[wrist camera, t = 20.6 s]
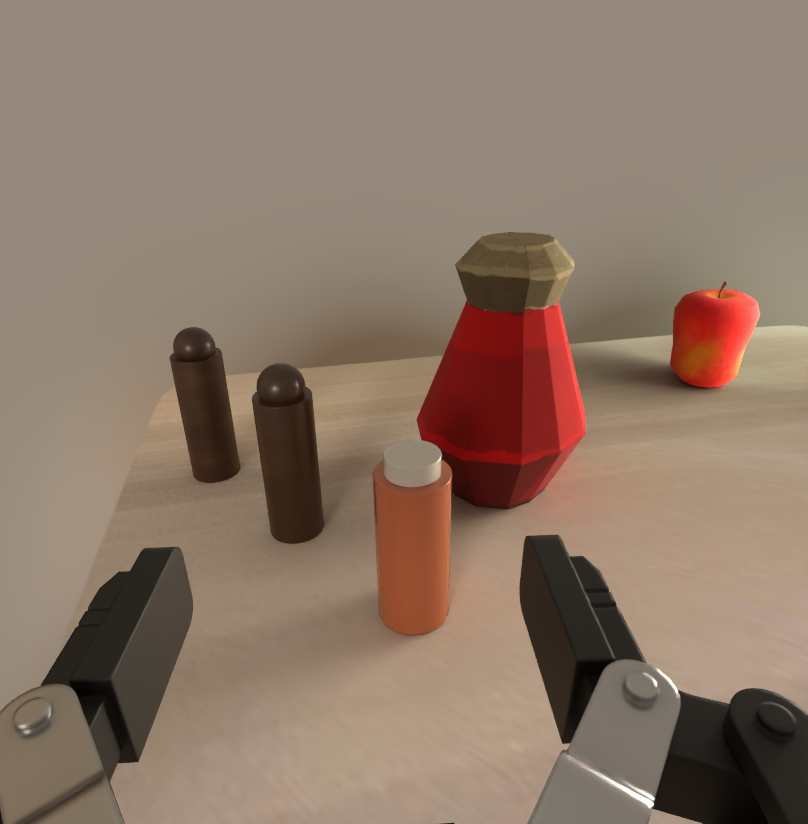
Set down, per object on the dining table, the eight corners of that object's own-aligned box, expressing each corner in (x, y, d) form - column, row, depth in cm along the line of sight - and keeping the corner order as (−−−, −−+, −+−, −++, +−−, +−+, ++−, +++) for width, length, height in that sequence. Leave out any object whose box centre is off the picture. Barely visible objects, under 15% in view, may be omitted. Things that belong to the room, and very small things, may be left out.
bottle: (462, 424, 59) (469, 219, 50) (597, 455, 53) (632, 229, 44) (383, 503, 46) (374, 249, 38) (548, 555, 40) (583, 268, 32)
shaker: (415, 648, 33) (413, 484, 28) (364, 609, 36) (354, 454, 31) (463, 607, 36) (469, 451, 31) (412, 573, 39) (410, 426, 34)
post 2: (291, 551, 41) (270, 381, 35) (260, 527, 44) (235, 365, 38) (334, 526, 44) (321, 363, 38) (302, 505, 46) (285, 350, 40)
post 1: (207, 488, 49) (178, 339, 43) (185, 470, 51) (155, 328, 45) (248, 469, 51) (226, 327, 45) (225, 454, 54) (201, 317, 48)
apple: (709, 364, 73) (730, 271, 67) (758, 390, 65) (787, 287, 60) (647, 370, 71) (665, 275, 66) (691, 397, 64) (715, 292, 58)
